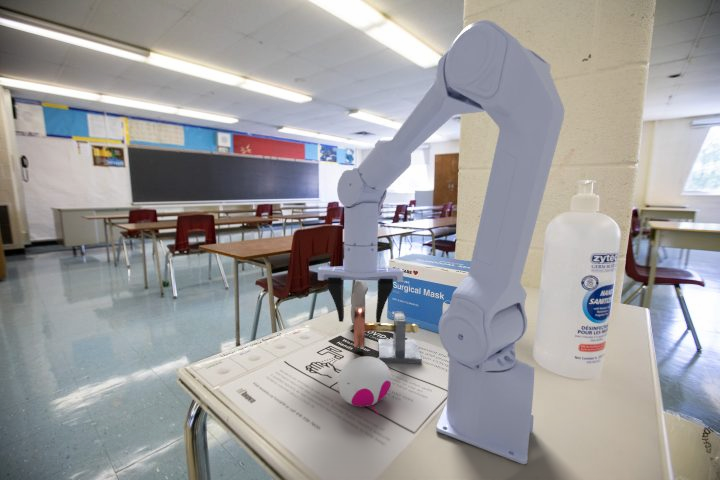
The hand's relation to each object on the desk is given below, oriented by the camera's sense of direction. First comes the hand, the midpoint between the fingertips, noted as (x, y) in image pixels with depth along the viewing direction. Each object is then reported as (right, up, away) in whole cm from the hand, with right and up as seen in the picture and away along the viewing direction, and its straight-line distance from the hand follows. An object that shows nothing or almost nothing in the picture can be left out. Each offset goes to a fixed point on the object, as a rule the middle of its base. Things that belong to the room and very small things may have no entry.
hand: (359, 319), depth 54 cm
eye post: (+7, -6, +1) cm, 9 cm away
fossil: (0, -5, +12) cm, 13 cm away
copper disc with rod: (+5, -5, 0) cm, 7 cm away
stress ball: (+1, -8, -13) cm, 15 cm away
